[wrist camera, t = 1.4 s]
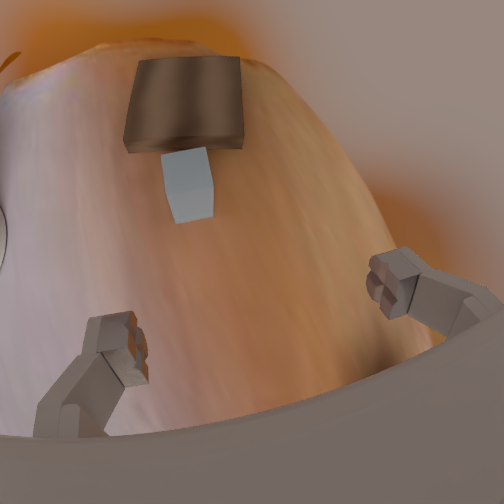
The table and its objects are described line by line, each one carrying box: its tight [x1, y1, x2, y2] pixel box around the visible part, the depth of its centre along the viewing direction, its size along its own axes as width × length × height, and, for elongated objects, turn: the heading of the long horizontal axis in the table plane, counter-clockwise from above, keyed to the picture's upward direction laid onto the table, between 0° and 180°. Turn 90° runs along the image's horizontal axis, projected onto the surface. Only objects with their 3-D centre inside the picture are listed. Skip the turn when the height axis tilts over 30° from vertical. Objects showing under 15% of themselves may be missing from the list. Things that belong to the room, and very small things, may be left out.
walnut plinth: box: [123, 56, 244, 153], centre depth 36 cm, size 14×14×3 cm
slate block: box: [161, 147, 214, 224], centre depth 30 cm, size 4×4×8 cm
